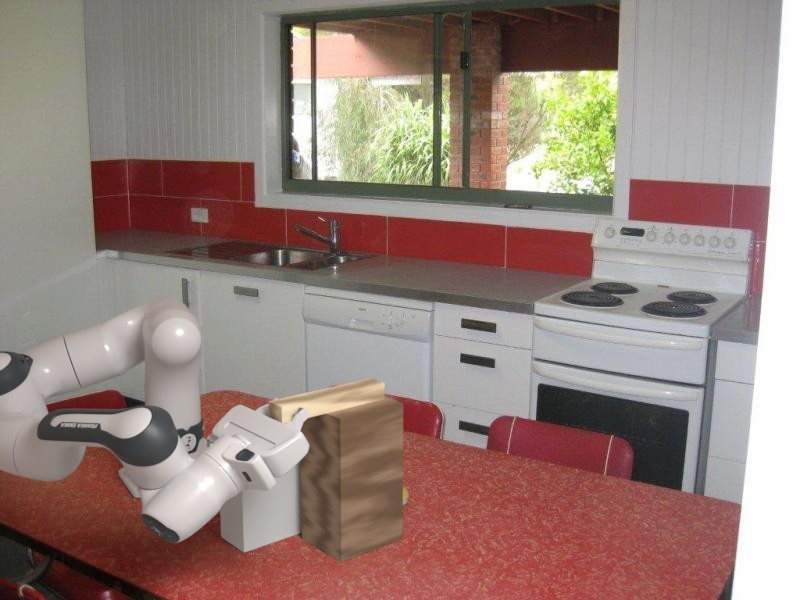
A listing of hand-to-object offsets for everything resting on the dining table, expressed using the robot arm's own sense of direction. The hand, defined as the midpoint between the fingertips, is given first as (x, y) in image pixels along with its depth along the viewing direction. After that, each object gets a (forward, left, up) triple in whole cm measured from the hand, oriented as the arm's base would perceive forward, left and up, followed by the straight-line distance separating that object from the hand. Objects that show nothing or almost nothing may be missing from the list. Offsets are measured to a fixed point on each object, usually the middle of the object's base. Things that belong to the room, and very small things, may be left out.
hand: (293, 405), depth 156 cm
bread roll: (-9, +28, -28) cm, 41 cm away
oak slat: (0, +7, -2) cm, 7 cm away
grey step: (-12, +2, -28) cm, 30 cm away
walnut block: (0, +12, -28) cm, 30 cm away
